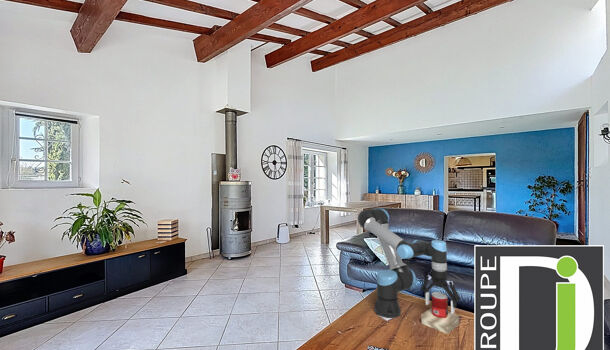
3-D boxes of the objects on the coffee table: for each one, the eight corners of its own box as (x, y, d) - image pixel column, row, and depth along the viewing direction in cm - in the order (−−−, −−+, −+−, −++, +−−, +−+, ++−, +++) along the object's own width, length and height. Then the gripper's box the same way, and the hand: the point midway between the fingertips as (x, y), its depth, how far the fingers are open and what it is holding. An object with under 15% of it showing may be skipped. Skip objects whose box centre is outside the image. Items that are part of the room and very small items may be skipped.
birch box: (421, 323, 155) (421, 314, 155) (433, 315, 164) (433, 306, 164) (447, 334, 144) (447, 324, 144) (458, 324, 153) (458, 315, 153)
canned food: (449, 319, 150) (449, 298, 150) (433, 317, 151) (433, 297, 151) (445, 312, 157) (445, 292, 157) (430, 311, 159) (430, 291, 159)
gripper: (414, 265, 161) (414, 302, 161) (461, 276, 142) (461, 319, 142) (420, 262, 166) (421, 299, 166) (466, 273, 147) (467, 314, 147)
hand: (439, 308), depth 154 cm, fingers open, 13 cm apart
